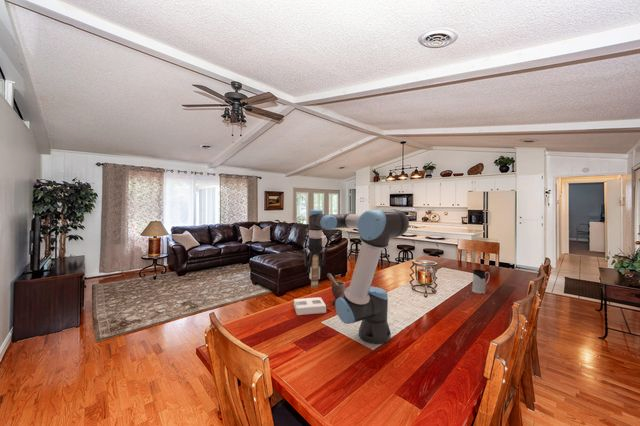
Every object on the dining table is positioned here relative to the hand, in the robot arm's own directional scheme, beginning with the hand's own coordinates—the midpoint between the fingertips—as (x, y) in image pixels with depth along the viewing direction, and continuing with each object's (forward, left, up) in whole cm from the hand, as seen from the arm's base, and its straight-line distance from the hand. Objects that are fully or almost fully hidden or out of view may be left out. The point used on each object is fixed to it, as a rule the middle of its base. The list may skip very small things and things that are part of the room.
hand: (314, 278), depth 149 cm
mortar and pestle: (+13, -17, -21) cm, 30 cm away
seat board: (+9, +1, -21) cm, 23 cm away
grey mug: (+14, -128, -21) cm, 130 cm away
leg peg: (0, 0, -5) cm, 5 cm away
